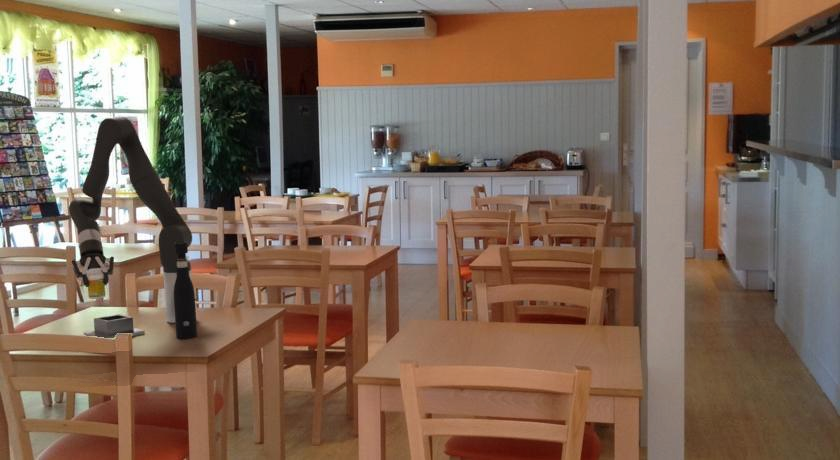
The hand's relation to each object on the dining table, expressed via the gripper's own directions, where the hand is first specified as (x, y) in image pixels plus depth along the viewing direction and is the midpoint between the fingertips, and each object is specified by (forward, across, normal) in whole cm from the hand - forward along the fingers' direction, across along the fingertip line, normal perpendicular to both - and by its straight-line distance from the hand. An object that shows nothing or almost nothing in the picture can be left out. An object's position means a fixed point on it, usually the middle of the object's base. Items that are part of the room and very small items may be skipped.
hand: (96, 284), depth 326 cm
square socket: (+19, +3, +3) cm, 20 cm away
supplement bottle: (+2, 0, +5) cm, 5 cm away
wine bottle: (+31, +24, -9) cm, 40 cm away
